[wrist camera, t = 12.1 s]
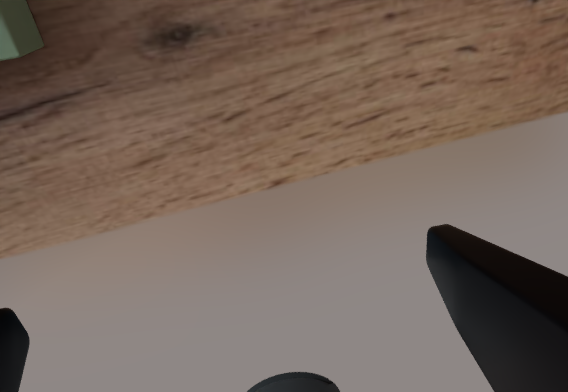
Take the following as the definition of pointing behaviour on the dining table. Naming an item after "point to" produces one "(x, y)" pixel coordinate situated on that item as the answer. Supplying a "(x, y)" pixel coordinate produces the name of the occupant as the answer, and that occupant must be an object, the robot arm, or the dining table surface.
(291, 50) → the dining table surface
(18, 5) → the kitchen scale
